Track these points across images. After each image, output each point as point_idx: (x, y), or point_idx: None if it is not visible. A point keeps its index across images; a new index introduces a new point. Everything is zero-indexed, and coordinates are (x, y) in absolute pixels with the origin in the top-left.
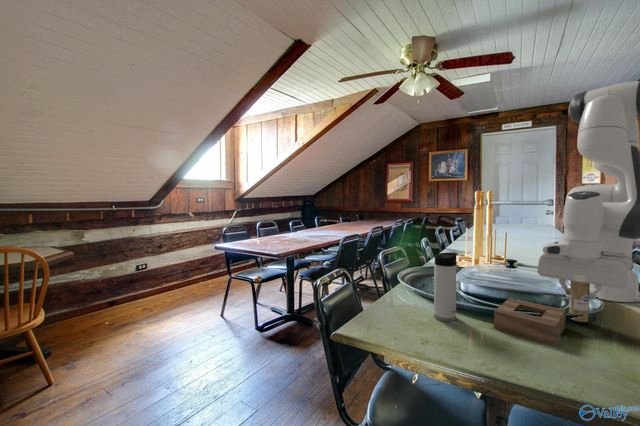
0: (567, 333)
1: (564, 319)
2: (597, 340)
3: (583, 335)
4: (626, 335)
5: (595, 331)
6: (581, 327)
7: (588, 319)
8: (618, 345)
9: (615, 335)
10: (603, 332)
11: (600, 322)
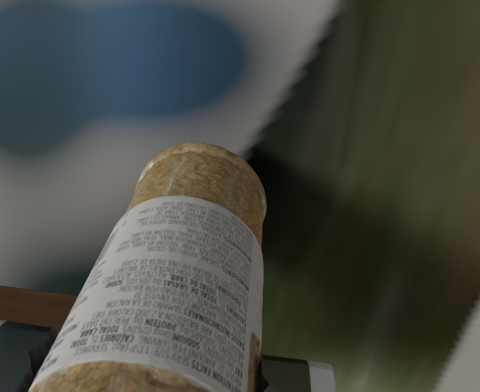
0: None
1: None
2: None
3: None
4: (463, 257)
5: (298, 284)
6: None
7: (265, 211)
8: (376, 386)
9: (397, 287)
10: (339, 277)
11: (355, 98)
